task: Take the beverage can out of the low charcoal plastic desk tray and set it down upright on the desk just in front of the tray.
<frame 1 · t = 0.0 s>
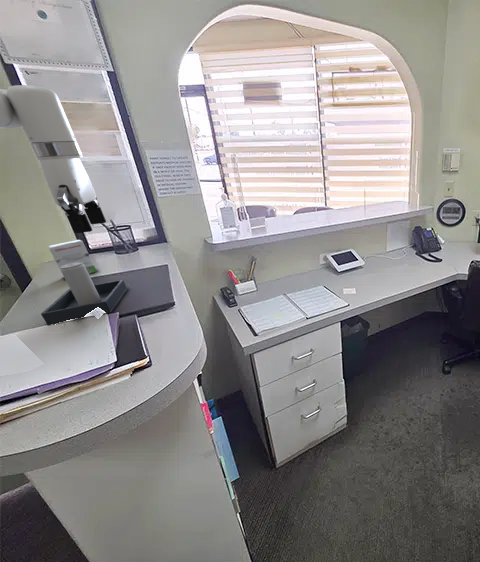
hand: (91, 227, 75), 22 cm above the table, tool pointing down, fingers open, 9 cm apart
ink box: (81, 275, 110), on the table
desk tray: (91, 305, 87), on the table
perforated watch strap: (81, 285, 101), on the table
beverage can: (91, 304, 87), resting on desk tray
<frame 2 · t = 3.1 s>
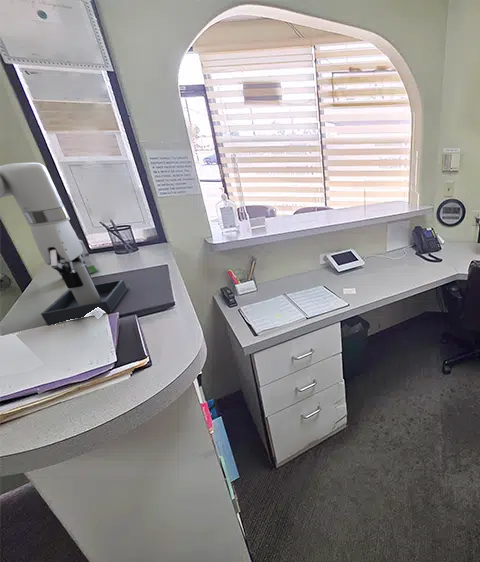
hand: (80, 282, 84), 7 cm above the table, tool pointing down, fingers closed on beverage can, 4 cm apart
beverage can: (91, 304, 87), resting on desk tray, touching gripper
everything else where it was.
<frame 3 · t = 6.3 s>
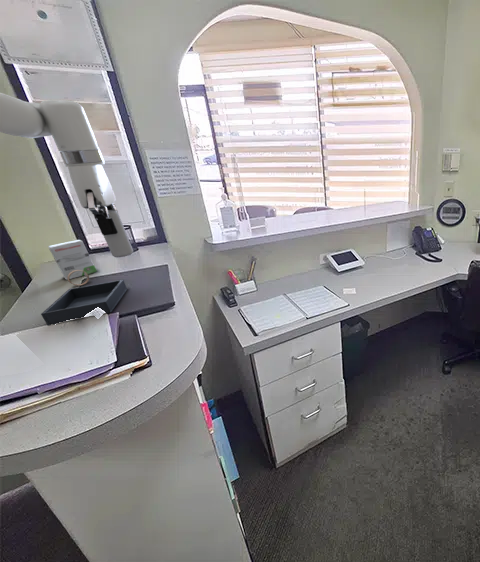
hand: (113, 231, 83), 20 cm above the table, tool pointing down, fingers closed on beverage can, 4 cm apart
beverage can: (123, 255, 85), point 13 cm above the table, touching gripper
everything else where it was.
when the fingers open (7 cm above the table, at t = 9.5 s): beverage can stays where it is, on the table.
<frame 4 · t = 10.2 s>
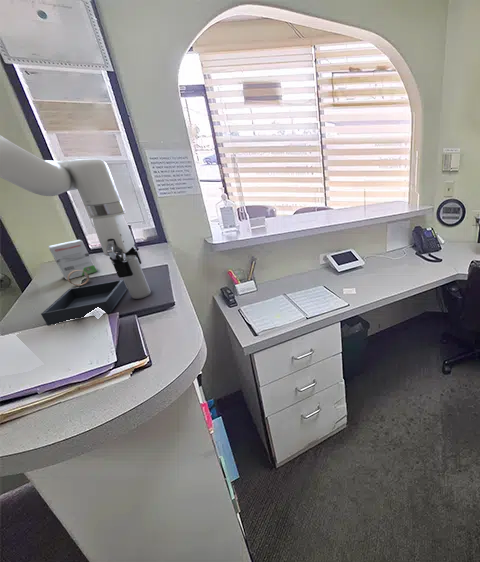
hand: (131, 270, 87), 8 cm above the table, tool pointing down, fingers open, 9 cm apart
beverage can: (141, 296, 91), on the table
everything else where it was.
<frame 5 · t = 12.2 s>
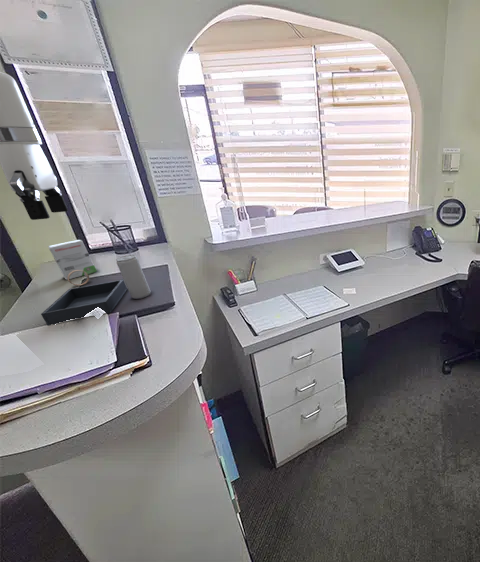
hand: (51, 215, 75), 26 cm above the table, tool pointing down, fingers open, 9 cm apart
nothing on the table moved.
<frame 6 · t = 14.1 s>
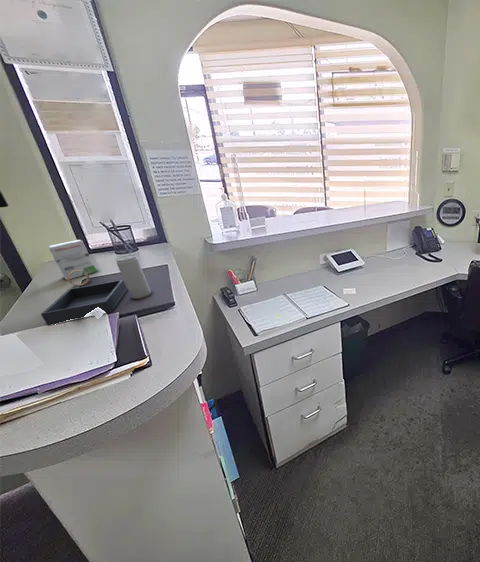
nothing on the table moved.
at the end: beverage can inside the target area (0.2 cm from its centre), on the table; beverage can tilted 0°; beverage can touching table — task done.
